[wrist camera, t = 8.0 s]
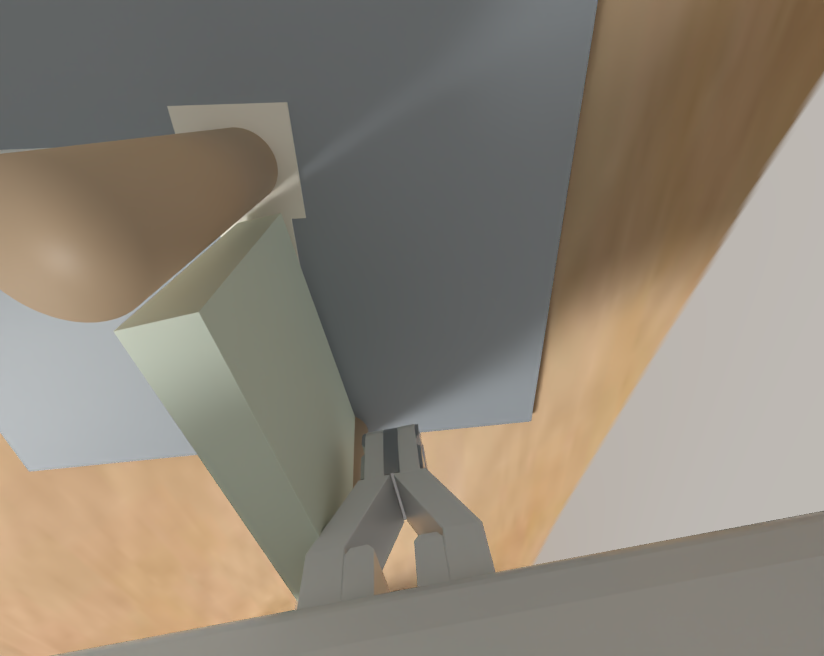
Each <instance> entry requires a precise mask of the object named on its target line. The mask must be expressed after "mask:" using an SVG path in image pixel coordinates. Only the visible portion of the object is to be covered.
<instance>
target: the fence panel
mask: <svg viewBox="0 0 824 656" xmlns="http://www.w3.org/2000/svg"><path fill="white" fill-rule="evenodd" d="M113 332H114V333H115V335H116V336H117V338H118V339H119V341H120V342H121V344H122V345H123V347H124V348H125V349H126V351H127V352H128V354H129V355H130V357H131V358H132V360H133V361H134V363H135V364H136V366H137V367H138V368H139V370H140V371H141V373H142V374H143V376H144V377H145V379H146V380H147V382H148V383H149V385H150V386H151V388H152V389H153V390H154V392H155V393H156V395H157V396H158V398H159V399H160V401H161V402H162V404H163V405H164V407H165V408H166V409H167V411H168V412H169V414H170V415H171V417H172V418H173V420H174V421H175V423H176V424H177V426H178V427H179V429H180V430H181V431H182V433H183V434H184V436H185V437H186V439H187V440H188V442H189V443H190V445H191V446H192V448H193V449H194V450H195V452H196V453H197V455H198V456H199V458H200V459H201V461H202V462H203V464H204V465H205V467H206V468H207V470H208V471H209V472H210V474H211V475H212V477H213V478H214V480H215V481H216V483H217V484H218V486H219V487H220V489H221V490H222V491H223V493H224V494H225V496H226V497H227V499H228V500H229V502H230V503H231V505H232V506H233V508H234V509H235V511H236V512H237V513H238V515H239V516H240V518H241V519H242V521H243V522H244V524H245V525H246V527H247V528H248V530H249V531H250V532H251V534H252V535H253V537H254V538H255V540H256V541H257V543H258V544H259V546H260V547H261V549H262V550H263V552H264V553H265V554H266V556H267V557H268V559H269V560H270V562H271V563H272V565H273V566H274V568H275V569H276V571H277V572H278V573H279V575H280V576H281V578H282V579H283V581H284V582H285V584H286V585H287V587H288V588H289V590H290V591H291V593H292V594H293V595H294V597H295V598H296V605H295V610H297V605H298V599H299V593H300V587H301V581H302V575H303V568H304V562H305V556H306V553H307V552H308V551H309V549H310V548H311V546H312V545H313V544H314V542H315V541H316V539H317V538H319V537H320V534H321V532H322V531H323V530H324V528H325V527H326V525H327V524H328V523H329V521H330V520H331V518H332V517H333V516H334V514H335V513H336V511H337V510H338V509H339V507H340V506H341V504H342V503H343V502H344V500H345V499H346V497H347V496H348V495H349V493H350V492H351V490H352V489H353V488H354V486H355V485H356V483H357V482H358V481H359V480H361V479H360V477H361V458H362V456H363V455H364V454H365V453H364V450H363V447H362V436H363V435H364V434H366V433H368V428H367V426H366V424H365V423H364V422H363V421H362V420H360V419H359V418H357V417H355V415H354V413H353V410H352V407H351V404H350V402H349V399H348V396H347V393H346V391H345V388H344V385H343V382H342V380H341V377H340V374H339V371H338V369H337V366H336V363H335V360H334V358H333V355H332V352H331V349H330V347H329V344H328V341H327V338H326V335H325V333H324V330H323V327H322V324H321V322H320V319H319V316H318V313H317V311H316V308H315V305H314V302H313V300H312V297H311V294H310V291H309V289H308V286H307V283H306V280H305V278H304V275H303V272H302V269H301V267H300V264H299V261H298V258H297V256H296V253H295V250H294V247H293V245H292V242H291V239H290V236H289V234H288V231H287V228H286V225H285V223H284V220H283V217H282V214H281V213H279V214H274V215H270V216H265V217H261V218H257V219H252V220H248V221H243V222H239V223H237V224H236V225H235V226H234V227H232V228H231V229H230V230H229V231H228V232H227V233H226V234H224V235H223V236H222V237H221V238H220V239H219V240H218V241H216V242H215V243H214V244H213V245H212V246H211V247H210V248H208V249H207V250H206V251H205V252H204V253H203V254H201V255H200V256H199V257H198V258H197V259H196V260H195V261H193V262H192V263H191V264H190V265H189V266H188V267H187V268H185V269H184V270H183V271H182V272H181V273H180V274H179V275H177V276H176V277H175V278H174V279H173V280H172V281H170V282H169V283H168V284H167V285H166V286H165V287H164V288H162V289H161V290H160V291H159V292H158V293H157V294H156V295H154V296H153V297H152V298H151V299H150V300H149V301H148V302H146V303H145V304H144V305H143V306H142V307H141V308H139V309H138V310H137V311H136V312H135V313H134V314H133V315H131V316H130V317H129V318H128V319H127V320H126V321H125V322H123V323H122V324H121V325H120V326H119V327H118V328H117V329H115V330H114V331H113Z"/></svg>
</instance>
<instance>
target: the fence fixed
mask: <svg viewBox="0 0 824 656" xmlns="http://www.w3.org/2000/svg"><path fill="white" fill-rule="evenodd" d="M277 177H278V167H277V162H276V159H275V156H274V154H273V152H272V150H271V149H270V147H269V146H268V144H267V143H266V142H265V141H264V140H263V139H262V138H261V137H259V136H258V135H257V134H255V133H253V132H251V131H249V130H246V129H243V128H236V127H232V128H223V129H214V130H205V131H196V132H188V133H179V134H170V135H161V136H152V137H144V138H135V139H126V140H117V141H108V142H100V143H91V144H82V145H73V146H64V147H56V148H34V149H8V150H0V290H2V291H3V292H4V293H6V294H7V295H9V296H10V297H11V298H13V299H14V300H16V301H18V302H20V303H21V304H23V305H25V306H27V307H29V308H31V309H33V310H35V311H37V312H40V313H43V314H45V315H48V316H51V317H55V318H58V319H62V320H67V321H73V322H84V323H95V322H104V321H109V320H113V319H117V318H119V317H122V316H124V315H126V314H128V313H130V312H131V311H133V310H134V309H135V308H137V307H138V306H139V305H140V304H141V303H143V302H144V301H145V300H146V299H147V298H148V297H150V296H151V295H152V294H153V293H154V292H155V291H157V290H158V289H159V288H160V287H161V286H162V285H164V284H165V283H166V282H167V281H168V280H169V279H171V278H172V277H173V276H174V275H175V274H176V273H178V272H179V271H180V270H181V269H182V268H183V267H185V266H186V265H187V264H188V263H189V262H190V261H192V260H193V259H194V258H195V257H196V256H197V255H199V254H200V253H201V252H202V251H203V250H204V249H206V248H207V247H208V246H209V245H210V244H211V243H213V242H214V241H215V240H216V239H217V238H218V237H220V236H221V235H222V234H223V233H224V232H225V231H227V230H228V229H229V228H230V227H231V226H232V225H234V224H235V223H236V222H237V221H238V220H239V219H241V218H242V217H243V216H244V215H245V214H246V213H248V212H249V211H250V210H251V209H252V208H253V207H255V206H256V205H257V204H258V203H259V202H260V201H262V200H263V199H264V198H265V197H266V196H267V195H269V194H270V193H271V191H272V190H273V188H274V187H275V184H276V181H277Z"/></svg>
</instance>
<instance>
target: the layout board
mask: <svg viewBox="0 0 824 656" xmlns="http://www.w3.org/2000/svg"><path fill="white" fill-rule="evenodd" d="M597 3H598V0H0V150H8V149H34V148H56V147H64V146H73V145H82V144H91V143H100V142H108V141H117V140H126V139H135V138H144V137H152V136H161V135H170V134H179V133H188V132H196V131H205V130H214V129H223V128H232V127H236V128H243V129H246V130H249V131H251V132H253V133H255V134H257V135H258V136H259V137H261V138H262V139H263V140H264V141H265V142H266V143H267V144H268V146H269V147H270V149H271V150H272V152H273V154H274V156H275V159H276V162H277V167H278V177H277V181H276V184H275V187H274V188H273V190H272V191H271V193H270V194H269V195H267V196H266V197H265V198H264V199H263V200H262V201H260V202H259V203H258V204H257V205H256V206H255V207H253V208H252V209H251V210H250V211H249V212H248V213H246V214H245V215H244V216H243V217H242V218H241V219H239V220H238V221H237V222H236V223H235V224H234V225H232V226H231V227H230V228H229V229H228V230H227V231H225V232H224V233H223V234H222V235H221V236H220V237H218V238H217V239H216V240H215V241H214V242H213V243H211V244H210V245H209V246H208V247H207V248H206V249H204V250H203V251H202V252H201V253H200V254H199V255H197V256H196V257H195V258H194V259H193V260H192V261H190V262H189V263H188V264H187V265H186V266H185V267H183V268H182V269H181V270H180V271H179V272H178V273H176V274H175V275H174V276H173V277H172V278H171V279H169V280H168V281H167V282H166V283H165V284H164V285H162V286H161V287H160V288H159V289H158V290H157V291H155V292H154V293H153V294H152V295H151V296H150V297H148V298H147V299H146V300H145V301H144V302H143V303H141V304H140V305H139V306H138V307H137V308H135V309H134V310H133V311H131V312H130V313H128V314H126V315H124V316H122V317H119V318H117V319H113V320H109V321H104V322H95V323H84V322H73V321H67V320H62V319H58V318H55V317H51V316H48V315H45V314H43V313H40V312H37V311H35V310H33V309H31V308H29V307H27V306H25V305H23V304H21V303H20V302H18V301H16V300H14V299H13V298H11V297H10V296H9V295H7V294H6V293H4V292H3V291H2V290H0V433H1V434H2V436H3V437H4V438H5V440H6V441H7V442H8V444H9V445H10V446H11V448H12V449H13V450H14V452H15V453H16V454H17V456H18V457H19V459H20V460H21V461H22V463H23V464H24V465H25V467H26V468H27V469H28V471H39V470H49V469H59V468H69V467H79V466H89V465H99V464H109V463H119V462H129V461H139V460H149V459H159V458H169V457H179V456H189V455H197V453H196V452H195V450H194V449H193V448H192V446H191V445H190V443H189V442H188V440H187V439H186V437H185V436H184V434H183V433H182V431H181V430H180V429H179V427H178V426H177V424H176V423H175V421H174V420H173V418H172V417H171V415H170V414H169V412H168V411H167V409H166V408H165V407H164V405H163V404H162V402H161V401H160V399H159V398H158V396H157V395H156V393H155V392H154V390H153V389H152V388H151V386H150V385H149V383H148V382H147V380H146V379H145V377H144V376H143V374H142V373H141V371H140V370H139V368H138V367H137V366H136V364H135V363H134V361H133V360H132V358H131V357H130V355H129V354H128V352H127V351H126V349H125V348H124V347H123V345H122V344H121V342H120V341H119V339H118V338H117V336H116V335H115V333H114V332H113V331H114V330H115V329H117V328H118V327H119V326H120V325H121V324H122V323H123V322H125V321H126V320H127V319H128V318H129V317H130V316H131V315H133V314H134V313H135V312H136V311H137V310H138V309H139V308H141V307H142V306H143V305H144V304H145V303H146V302H148V301H149V300H150V299H151V298H152V297H153V296H154V295H156V294H157V293H158V292H159V291H160V290H161V289H162V288H164V287H165V286H166V285H167V284H168V283H169V282H170V281H172V280H173V279H174V278H175V277H176V276H177V275H179V274H180V273H181V272H182V271H183V270H184V269H185V268H187V267H188V266H189V265H190V264H191V263H192V262H193V261H195V260H196V259H197V258H198V257H199V256H200V255H201V254H203V253H204V252H205V251H206V250H207V249H208V248H210V247H211V246H212V245H213V244H214V243H215V242H216V241H218V240H219V239H220V238H221V237H222V236H223V235H224V234H226V233H227V232H228V231H229V230H230V229H231V228H232V227H234V226H235V225H236V224H237V223H239V222H243V221H248V220H252V219H257V218H261V217H265V216H270V215H274V214H279V213H281V214H282V217H283V220H284V223H285V225H286V228H287V231H288V234H289V236H290V239H291V242H292V245H293V247H294V250H295V253H296V256H297V258H298V261H299V264H300V267H301V269H302V272H303V275H304V278H305V280H306V283H307V286H308V289H309V291H310V294H311V297H312V300H313V302H314V305H315V308H316V311H317V313H318V316H319V319H320V322H321V324H322V327H323V330H324V333H325V335H326V338H327V341H328V344H329V347H330V349H331V352H332V355H333V358H334V360H335V363H336V366H337V369H338V371H339V374H340V377H341V380H342V382H343V385H344V388H345V391H346V393H347V396H348V399H349V402H350V404H351V407H352V410H353V413H354V415H355V417H357V418H359V419H360V420H362V421H363V422H364V423H365V424H366V426H367V428H368V433H369V432H375V431H381V430H385V429H391V428H397V427H401V426H406V425H410V424H418V426H419V430H420V432H429V431H439V430H449V429H459V428H469V427H479V426H489V425H499V424H509V423H519V422H529V421H531V418H532V412H533V405H534V399H535V393H536V386H537V380H538V374H539V368H540V361H541V355H542V349H543V342H544V336H545V330H546V324H547V317H548V311H549V305H550V298H551V292H552V286H553V280H554V273H555V267H556V261H557V254H558V248H559V242H560V236H561V229H562V223H563V217H564V210H565V204H566V198H567V192H568V185H569V179H570V173H571V166H572V160H573V154H574V148H575V141H576V135H577V129H578V122H579V116H580V110H581V104H582V97H583V91H584V85H585V78H586V72H587V66H588V60H589V53H590V47H591V41H592V34H593V28H594V22H595V16H596V9H597Z"/></svg>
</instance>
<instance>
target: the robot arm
mask: <svg viewBox="0 0 824 656" xmlns="http://www.w3.org/2000/svg"><path fill="white" fill-rule="evenodd" d="M362 447H363V450H364V453H365V454H364V455H363V456H362V458H361V477H360V479H361V480H359V481H358V482H357V483H356V485H355V486H354V488H353V489H352V490H351V492H350V493H349V495H348V496H347V497H346V499H345V500H344V502H343V503H342V504H341V506H340V507H339V509H338V510H337V511H336V513H335V514H334V516H333V517H332V518H331V520H330V521H329V523H328V524H327V525H326V527H325V528H324V530H323V531H322V532H321V534H320V537H319V538H317V539H316V541H315V542H314V544H313V545H312V546H311V548H310V549H309V551H308V552H307V553H306V556H305V562H304V568H303V575H302V581H301V587H300V593H299V599H298V605H297V610H292V611H287V612H281V613H276V614H270V615H265V616H260V617H254V618H249V619H244V620H238V621H233V622H228V623H222V624H217V625H212V626H206V627H201V628H196V629H190V630H185V631H180V632H174V633H169V634H164V635H158V636H153V637H148V638H142V639H137V640H132V641H126V642H121V643H116V644H110V645H105V646H99V647H94V648H89V649H83V650H78V651H73V652H67V653H62V654H57V655H51V656H824V511H820V512H815V513H809V514H804V515H799V516H794V517H788V518H783V519H778V520H773V521H767V522H762V523H756V524H751V525H745V526H741V527H735V528H729V529H724V530H719V531H714V532H708V533H703V534H698V535H692V536H687V537H681V538H676V539H671V540H666V541H660V542H655V543H649V544H644V545H639V546H633V547H628V548H623V549H617V550H612V551H607V552H602V553H596V554H591V555H585V556H580V557H574V558H569V559H564V560H559V561H553V562H548V563H543V564H537V565H532V566H526V567H521V568H516V569H511V570H505V571H500V572H495V569H494V565H493V561H492V558H491V554H490V550H489V546H488V542H487V539H486V535H485V531H484V527H483V523H482V521H481V520H480V519H479V518H478V517H476V516H475V515H474V514H473V513H472V512H471V511H470V510H469V509H468V508H467V507H466V506H465V505H464V504H463V503H462V502H461V501H460V500H459V499H458V498H457V497H455V496H454V495H453V494H452V493H451V492H450V491H449V490H448V489H447V488H446V487H445V486H444V485H443V484H442V483H441V482H440V481H439V480H438V479H437V478H436V477H434V476H433V475H432V474H431V473H430V472H429V471H428V468H427V462H426V457H425V452H424V447H423V445H422V440H421V434H420V430H419V426H418V424H410V425H406V426H401V427H397V428H391V429H385V430H381V431H375V432H369V433H366V434H364V435H363V436H362ZM406 519H407V521H408V522H409V524H410V525H411V526H412V528H413V529H414V530H415V532H416V533H417V534H418V537H417V538H416V539H415V541H414V546H415V559H416V572H417V586H418V587H415V588H410V589H404V590H399V591H394V592H390V590H389V588H388V585H387V582H386V580H385V577H384V575H383V572H382V570H383V568H384V565H385V563H386V561H387V559H388V556H389V554H390V552H391V550H392V548H393V545H394V543H395V541H396V539H397V537H398V534H399V532H400V530H401V528H402V525H403V523H404V520H406Z"/></svg>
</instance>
